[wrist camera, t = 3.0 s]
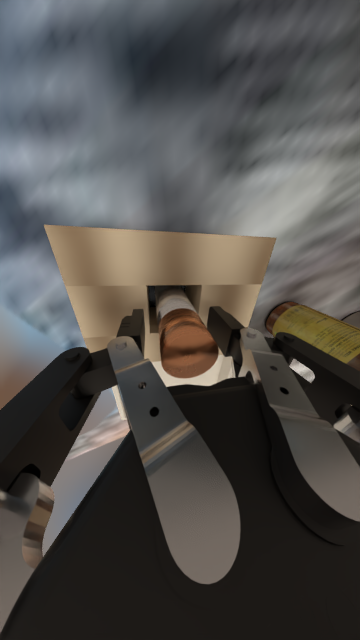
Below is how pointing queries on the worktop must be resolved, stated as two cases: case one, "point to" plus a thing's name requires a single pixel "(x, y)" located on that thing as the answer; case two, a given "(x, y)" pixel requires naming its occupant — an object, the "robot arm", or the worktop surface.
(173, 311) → the copper and grey cylinder
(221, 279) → the block
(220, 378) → the tray
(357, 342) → the sauce bottle
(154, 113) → the worktop surface
